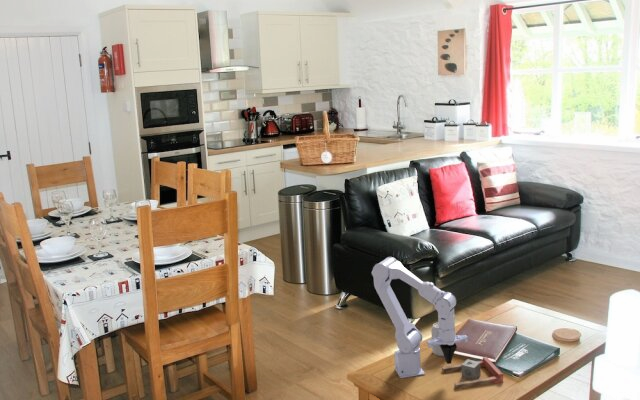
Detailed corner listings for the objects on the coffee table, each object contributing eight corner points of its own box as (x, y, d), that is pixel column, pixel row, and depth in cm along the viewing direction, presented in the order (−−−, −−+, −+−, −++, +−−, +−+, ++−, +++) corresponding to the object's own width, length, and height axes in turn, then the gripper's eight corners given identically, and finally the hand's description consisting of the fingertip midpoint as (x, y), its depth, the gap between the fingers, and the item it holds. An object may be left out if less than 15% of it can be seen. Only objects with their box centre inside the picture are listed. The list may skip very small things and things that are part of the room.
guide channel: (456, 389, 215) (455, 381, 215) (442, 370, 229) (441, 363, 228) (503, 381, 218) (502, 373, 217) (486, 363, 231) (486, 356, 231)
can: (451, 357, 239) (450, 328, 236) (432, 357, 240) (430, 328, 238) (451, 348, 246) (450, 320, 243) (432, 348, 248) (431, 320, 245)
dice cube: (468, 371, 227) (467, 359, 226) (480, 374, 224) (480, 362, 223) (461, 377, 223) (461, 364, 222) (474, 380, 220) (474, 367, 219)
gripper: (431, 334, 213) (432, 370, 216) (470, 328, 215) (471, 364, 218) (424, 326, 220) (426, 361, 223) (462, 321, 222) (464, 355, 225)
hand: (448, 362), depth 221 cm, fingers closed
